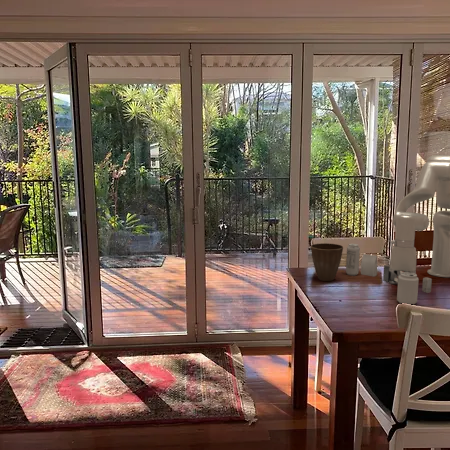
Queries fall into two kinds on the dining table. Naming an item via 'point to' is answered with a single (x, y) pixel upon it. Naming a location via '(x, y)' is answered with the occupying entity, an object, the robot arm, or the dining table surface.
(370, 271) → the tea bag
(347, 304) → the dining table surface
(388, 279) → the hinge mount
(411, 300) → the can
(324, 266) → the plant pot
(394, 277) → the gate
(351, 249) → the energy drink can
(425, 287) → the post
